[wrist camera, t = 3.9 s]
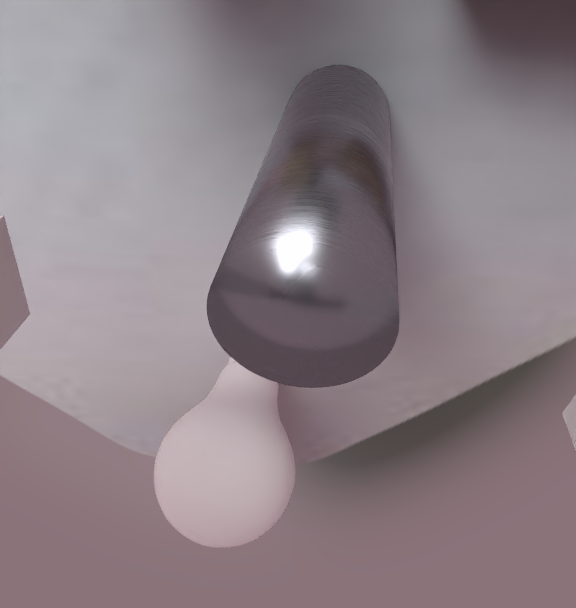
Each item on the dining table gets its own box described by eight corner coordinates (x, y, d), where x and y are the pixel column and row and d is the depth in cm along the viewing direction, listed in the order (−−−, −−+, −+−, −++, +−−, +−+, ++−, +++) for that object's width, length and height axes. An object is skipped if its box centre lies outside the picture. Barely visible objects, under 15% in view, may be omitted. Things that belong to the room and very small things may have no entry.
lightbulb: (333, 332, 27) (312, 535, 18) (285, 395, 30) (249, 587, 22) (227, 284, 26) (154, 477, 17) (191, 355, 29) (116, 542, 21)
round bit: (293, 56, 18) (208, 223, 9) (401, 74, 18) (424, 263, 9) (281, 159, 21) (204, 369, 12) (375, 176, 21) (373, 401, 12)
